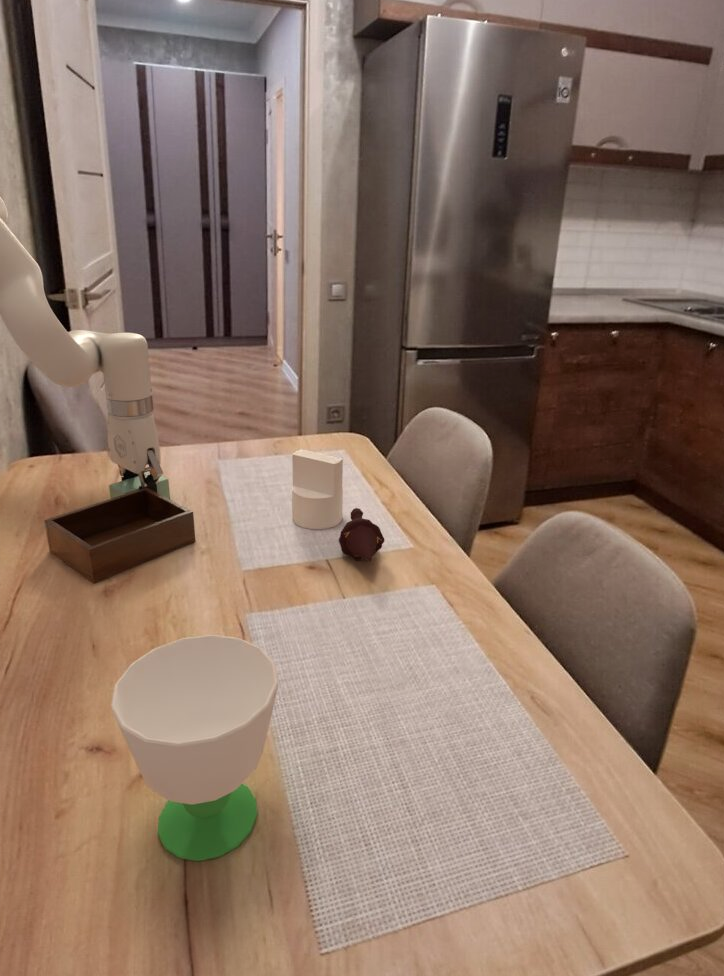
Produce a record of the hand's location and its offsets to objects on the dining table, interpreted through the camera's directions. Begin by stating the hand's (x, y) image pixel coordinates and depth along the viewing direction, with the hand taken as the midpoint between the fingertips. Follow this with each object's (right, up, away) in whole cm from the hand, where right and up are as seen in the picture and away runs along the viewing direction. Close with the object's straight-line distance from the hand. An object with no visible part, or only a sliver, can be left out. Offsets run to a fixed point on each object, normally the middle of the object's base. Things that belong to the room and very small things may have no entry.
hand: (140, 498), depth 123 cm
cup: (+30, -28, -61) cm, 73 cm away
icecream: (+42, -9, -14) cm, 45 cm away
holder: (+3, -7, -15) cm, 17 cm away
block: (0, -1, 0) cm, 1 cm away
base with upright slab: (+33, -4, -2) cm, 33 cm away
